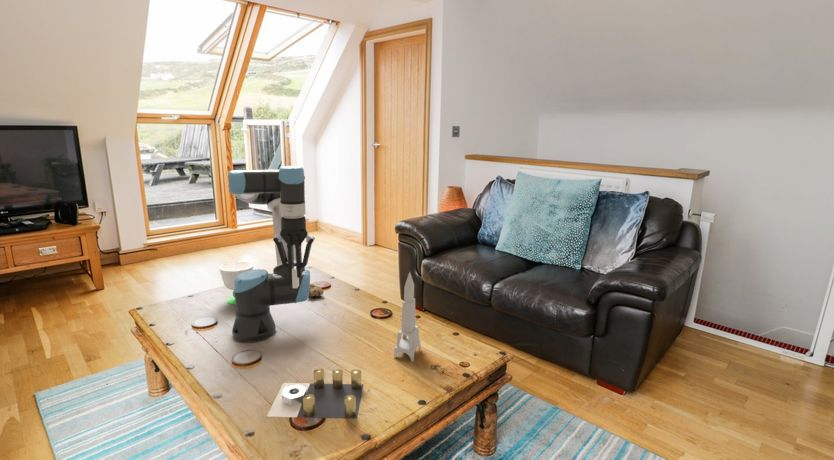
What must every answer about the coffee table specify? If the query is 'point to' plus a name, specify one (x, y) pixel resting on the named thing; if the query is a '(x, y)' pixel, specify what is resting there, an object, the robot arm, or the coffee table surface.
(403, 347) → the sculpture
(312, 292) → the sculpture
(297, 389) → the nut
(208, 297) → the coffee table surface
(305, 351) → the coffee table surface
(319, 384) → the spacers
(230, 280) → the cup
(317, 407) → the mat
